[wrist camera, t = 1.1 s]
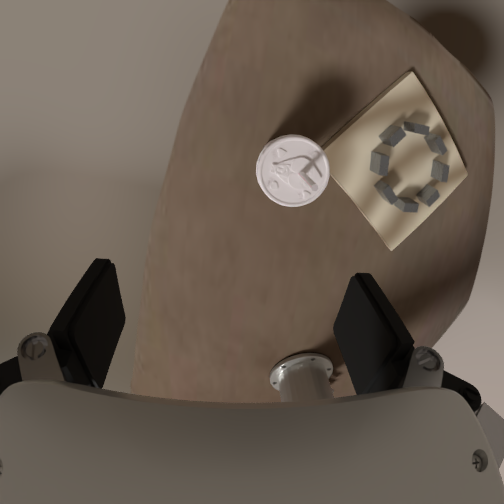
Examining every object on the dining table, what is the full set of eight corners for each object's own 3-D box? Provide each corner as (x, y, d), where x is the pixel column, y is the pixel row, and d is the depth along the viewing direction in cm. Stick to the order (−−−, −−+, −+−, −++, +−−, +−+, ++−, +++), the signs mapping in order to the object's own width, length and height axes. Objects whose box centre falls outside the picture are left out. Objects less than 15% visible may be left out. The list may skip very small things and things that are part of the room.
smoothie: (298, 184, 33) (336, 233, 21) (245, 175, 32) (254, 221, 20) (309, 133, 30) (359, 153, 18) (255, 123, 29) (271, 132, 17)
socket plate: (461, 171, 33) (467, 174, 31) (386, 246, 38) (391, 251, 37) (406, 72, 26) (412, 71, 24) (312, 155, 31) (316, 157, 30)
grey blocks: (448, 171, 31) (459, 176, 29) (398, 221, 35) (406, 229, 32) (412, 105, 27) (423, 106, 25) (353, 159, 30) (362, 163, 28)
